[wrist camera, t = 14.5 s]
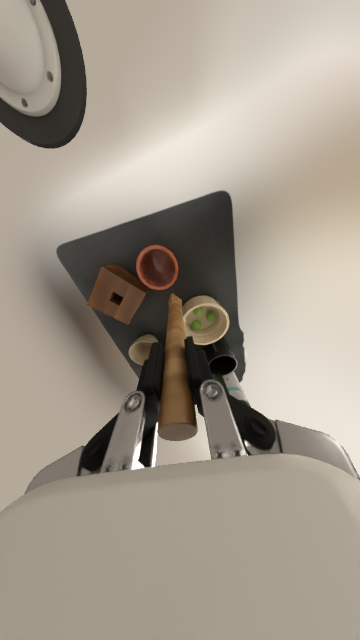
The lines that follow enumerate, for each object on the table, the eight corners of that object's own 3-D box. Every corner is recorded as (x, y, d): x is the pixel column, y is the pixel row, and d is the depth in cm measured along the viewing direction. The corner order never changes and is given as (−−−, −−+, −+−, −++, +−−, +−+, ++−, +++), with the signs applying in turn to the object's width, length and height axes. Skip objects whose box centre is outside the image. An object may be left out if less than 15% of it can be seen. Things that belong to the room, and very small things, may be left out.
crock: (141, 268, 34) (129, 275, 25) (156, 239, 31) (148, 234, 22) (167, 286, 37) (164, 297, 28) (183, 260, 33) (186, 263, 25)
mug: (221, 327, 44) (231, 344, 36) (230, 351, 49) (240, 370, 41) (195, 337, 46) (200, 356, 38) (207, 359, 51) (213, 379, 43)
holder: (101, 295, 37) (87, 304, 31) (115, 263, 33) (101, 266, 27) (135, 313, 40) (127, 325, 34) (151, 286, 36) (146, 293, 30)
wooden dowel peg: (167, 299, 24) (147, 435, 6) (173, 290, 23) (170, 418, 6) (176, 305, 25) (183, 444, 7) (183, 297, 24) (207, 430, 6)
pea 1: (190, 308, 40) (190, 313, 37) (196, 301, 38) (197, 306, 36) (197, 313, 40) (198, 318, 38) (204, 306, 39) (205, 312, 37)
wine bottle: (208, 369, 54) (239, 482, 28) (209, 356, 50) (247, 471, 24) (226, 368, 54) (275, 480, 28) (229, 355, 50) (289, 469, 24)
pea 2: (188, 325, 41) (192, 328, 39) (194, 317, 41) (197, 320, 38) (195, 329, 43) (199, 332, 40) (200, 321, 42) (204, 324, 40)
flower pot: (144, 353, 49) (140, 369, 42) (129, 334, 44) (121, 348, 38) (168, 345, 47) (167, 359, 41) (154, 324, 42) (151, 336, 36)
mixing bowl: (172, 320, 42) (171, 331, 36) (196, 286, 37) (201, 293, 31) (203, 337, 46) (207, 351, 40) (229, 309, 41) (239, 320, 35)
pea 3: (204, 312, 41) (204, 316, 38) (213, 308, 39) (213, 312, 37) (208, 319, 42) (208, 324, 39) (217, 316, 40) (217, 320, 38)
